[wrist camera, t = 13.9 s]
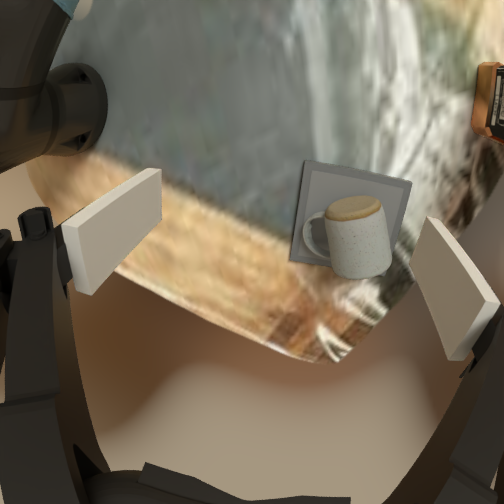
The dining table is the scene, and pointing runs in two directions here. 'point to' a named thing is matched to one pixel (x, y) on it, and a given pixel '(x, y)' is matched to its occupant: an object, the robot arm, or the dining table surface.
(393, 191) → the trivet
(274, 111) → the dining table surface
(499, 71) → the whiskey bottle
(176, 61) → the dining table surface
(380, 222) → the ceramic mug
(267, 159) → the dining table surface
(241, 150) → the dining table surface
